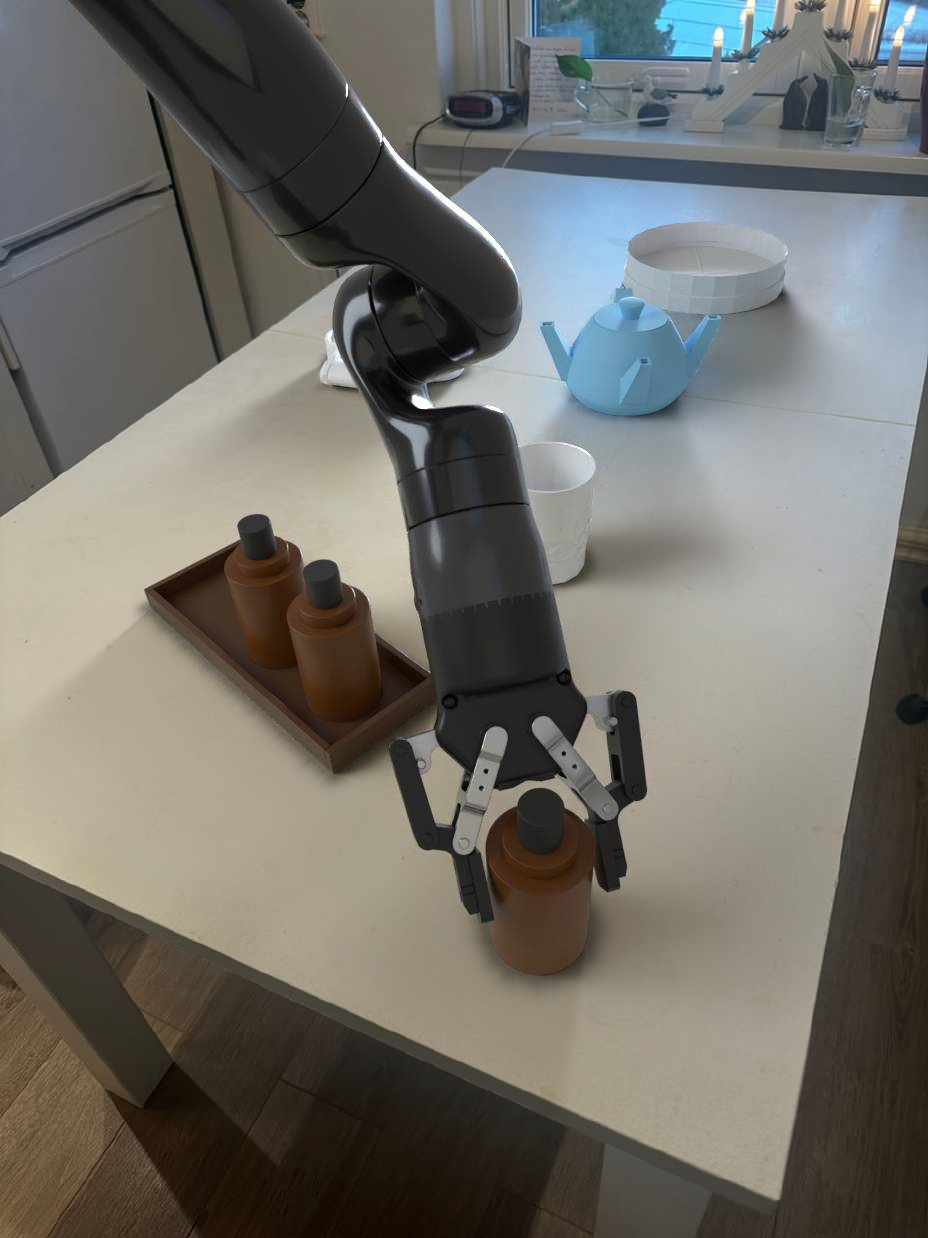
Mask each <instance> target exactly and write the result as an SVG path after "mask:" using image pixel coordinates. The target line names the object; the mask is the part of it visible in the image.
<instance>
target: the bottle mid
mask: <svg viewBox="0 0 928 1238" xmlns="http://www.w3.org/2000/svg"><path fill="white" fill-rule="evenodd" d="M236 528H237V532H238V535H239V540H240V539H241V544H239V545H238V546H237V548H236V549H235V551H234V552H233V553H232V554H231V555H230V556H229V557H228V559H227V560H226V563H225V567H224V571H225V574H226V578H227V581H228V585H229V588H230V591H231V595H232V598H233V602H234V605H235V609H236V612H237V616H238V619H239V622H240V626H241V629H242V633H243V636H244V640H245V643H246V647H247V650H248V654H249V656H250V658H251V659H252V660H253V661H254V662H255V663H256V664H258V665H260V666H262V667H265V668H269V669H285V668H290V667H294V666H296V665H298V663H297V659H296V654H295V650H294V646H293V642H292V638H291V634H290V630H289V625H288V621H287V611H288V608H289V606H290V604H291V602H292V601H293V600H294V599H295V598H296V597H297V596H298V595H300V594H301V593H302V592H303V591H304V590H305V589H306V586H305V582H304V577H303V569H304V568H305V566H306V565H305V561H304V557H303V553H302V551H301V549H300V548H299V547H298V546H297V545H296V544H295V543H293V542H291V541H289V540H287V539H286V540H285V539H283V538H282V537H280V536H277V535H275V534H274V529H273V525H272V520H271V518H270V517H269V516H267V515H266V514H262V513H253V514H248V515H246V516H244V517H242V518H241V519H240V520H239V521H238V522H237V525H236Z"/></svg>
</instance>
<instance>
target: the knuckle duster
mask: <svg viewBox="0 0 928 1238" xmlns="http://www.w3.org/2000/svg"><path fill="white" fill-rule="evenodd" d="M324 344H325V349H326V350H325V351H326V355H327V359H325V361H324V362H323V364H322V366H321V368H320V370H319V371H320V372H319V381H320V383H321V384H323V385H328V386H340V387H347V388H353V389H354V388H355V389H357V387H356V385H355V383H354V382H353V380H352V378H351V376H350V374H349V372H348V370H347V368H346V366H345V364H344V362H343V360H342V358H341V356H340V354H339V351H338V349H337V346H336V343H335V339H334V335H333V328H331V329H330V330H329V331H327V332H326V333H325V336H324ZM464 371H465V368H463V369H460V370H457V371H455V372H452V373H450V374H447V375H445V376H442V377H439V378H437V379H434V380H432V381H429V382H427V383H426V385H428V384H430V383H433V382H445V381H451V380H453V379H455V378H457V377H459V376H460V375H462V374H463V372H464Z"/></svg>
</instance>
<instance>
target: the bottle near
mask: <svg viewBox="0 0 928 1238" xmlns="http://www.w3.org/2000/svg"><path fill="white" fill-rule="evenodd" d="M304 566H305V568H304V569H303V577H304V582H305V586H306V589H305V590H304V591H303V592H302V593H301V594H300V595H298V596H297V597H296V598H295V599H294V600H293V601H292V602H291V604H290V606H289V608H288V611H287V621H288V625H289V630H290V634H291V638H292V642H293V646H294V650H295V654H296V659H297V663H298V667H299V671H300V675H301V679H302V683H303V688H304V692H305V696H306V700H307V704H308V706H309V708H310V710H311V711H312V712H313V713H314V714H315V715H316V716H318V717H320V718H322V719H324V720H327V721H331V722H348V721H353V720H356V719H359V718H361V717H363V716H365V715H367V714H368V713H370V712H371V711H372V710H373V709H374V708H375V707H376V706H377V705H378V704H379V702H380V700H381V698H382V694H383V685H382V679H381V672H380V666H379V659H378V653H377V646H376V640H375V633H376V632H375V627H374V622H373V621H374V620H373V615H372V608H371V603H370V599H369V597H368V596H367V594H365V592H364V591H362V590H361V589H360V588H358V587H355V586H353V585H350V584H347V583H345V582H343V581H342V580H341V579H342V578H341V574H340V567H339V565H338V563H337V562H335V561H334V560H331V559H325V558H324V559H321V558H320V559H316V560H313V561H310V562H309V563H307V564H306V565H304ZM374 632H375V633H374Z"/></svg>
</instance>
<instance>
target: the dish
mask: <svg viewBox="0 0 928 1238" xmlns="http://www.w3.org/2000/svg"><path fill="white" fill-rule="evenodd" d="M788 254H789V252H788V246H787V245H786V243H785V242H784V241H783V240H782V239H781V238H779V237H777V236H775V235H773V234H771V233H770V232H767V231H764V230H761V229H758V228H755V227H751V226H746V225H742V224H736V223H727V222H718V221H717V222H716V221H689V222H677V223H671V224H664V225H660V226H656V227H655V226H654V227H652V228H649V229H648V228H647V229H646V230H644V231H642V232H640V233H638V234H635V235H634V236H633V237H632V238H631V239H630V240H629V241H628V244H627V248H626V261H625V264H624V268H623V270H624V271H623V287H624V288H632V292H633V297H637V298H641V299H643V300H644V301H645V304H650V305H654V306H656V307H659V308H661V309H662V310H664V311H668V312H674V313H681V314H687V315H704V316H705V315H731V314H736V313H741V312H747V311H752V310H756V309H758V308H761V307H764V306H767V305H768V304H770V303H772V302H773V301H774V300H777V298H778V297H779V296H780V294H781V292H782V291H783V286H784V281H785V276H786V264H787V259H788Z"/></svg>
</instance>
